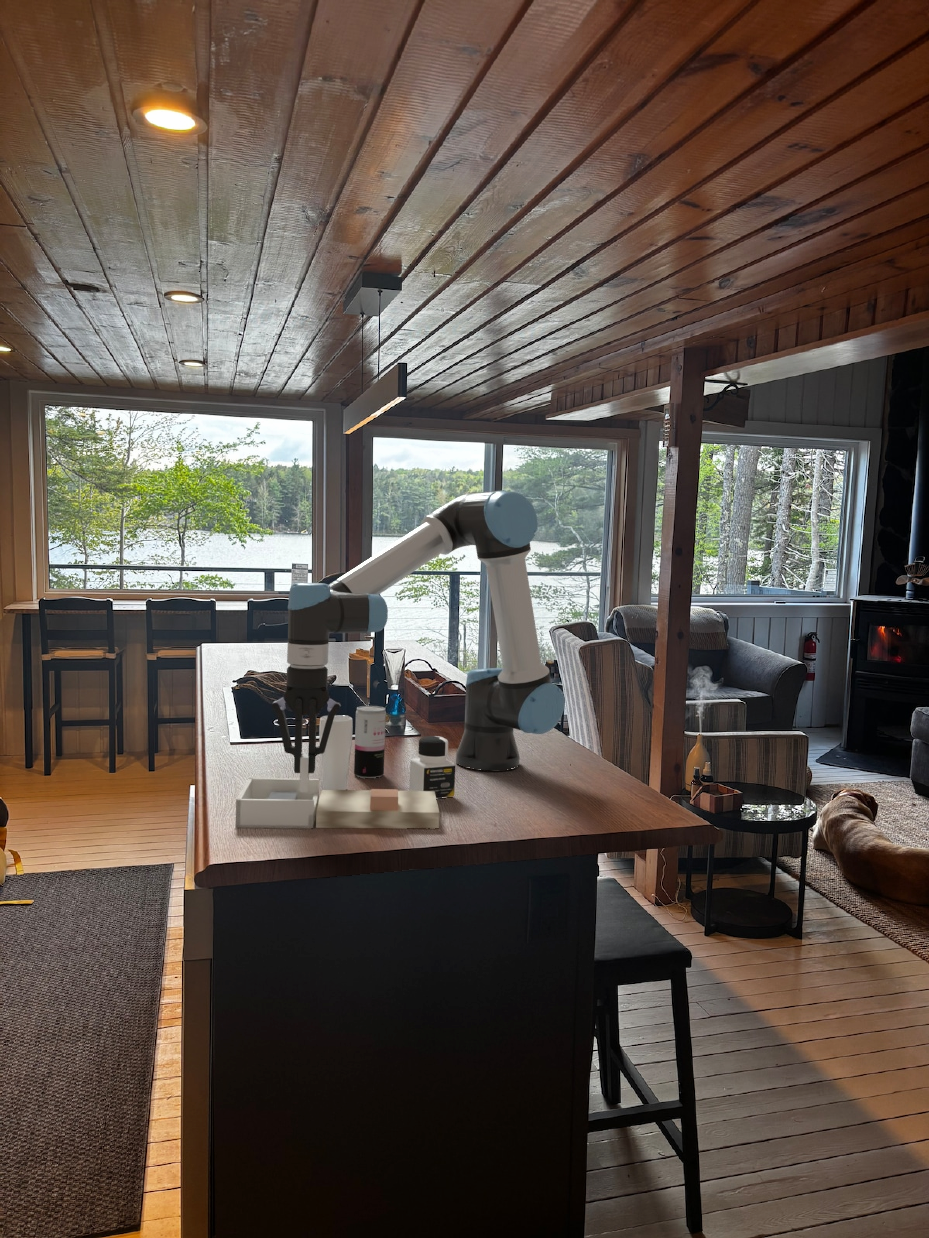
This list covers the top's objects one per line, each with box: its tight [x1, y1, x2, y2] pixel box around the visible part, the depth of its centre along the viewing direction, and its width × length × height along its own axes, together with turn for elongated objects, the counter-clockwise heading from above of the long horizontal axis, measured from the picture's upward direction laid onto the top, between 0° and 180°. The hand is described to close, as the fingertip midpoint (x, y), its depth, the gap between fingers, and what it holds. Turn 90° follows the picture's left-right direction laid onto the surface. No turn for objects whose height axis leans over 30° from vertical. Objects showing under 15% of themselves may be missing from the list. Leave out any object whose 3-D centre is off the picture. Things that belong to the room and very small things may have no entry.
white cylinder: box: [318, 714, 354, 790], centre depth 181 cm, size 7×7×15 cm
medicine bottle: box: [408, 735, 456, 798], centre depth 180 cm, size 7×7×12 cm
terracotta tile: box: [370, 788, 399, 810], centre depth 161 cm, size 5×5×2 cm
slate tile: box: [268, 792, 297, 799], centre depth 165 cm, size 5×5×2 cm
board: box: [315, 789, 440, 830], centre depth 164 cm, size 22×14×3 cm, turn 96°
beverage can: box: [353, 705, 387, 779], centre depth 193 cm, size 7×6×15 cm
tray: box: [235, 777, 320, 829], centre depth 162 cm, size 14×15×5 cm
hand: (304, 789), depth 165 cm, fingers closed
